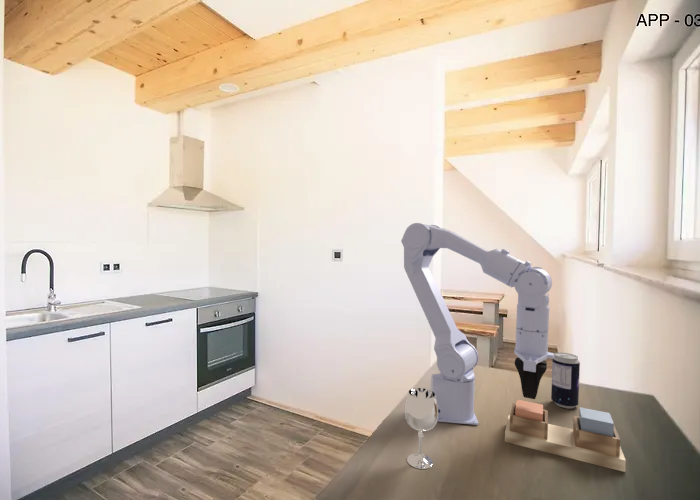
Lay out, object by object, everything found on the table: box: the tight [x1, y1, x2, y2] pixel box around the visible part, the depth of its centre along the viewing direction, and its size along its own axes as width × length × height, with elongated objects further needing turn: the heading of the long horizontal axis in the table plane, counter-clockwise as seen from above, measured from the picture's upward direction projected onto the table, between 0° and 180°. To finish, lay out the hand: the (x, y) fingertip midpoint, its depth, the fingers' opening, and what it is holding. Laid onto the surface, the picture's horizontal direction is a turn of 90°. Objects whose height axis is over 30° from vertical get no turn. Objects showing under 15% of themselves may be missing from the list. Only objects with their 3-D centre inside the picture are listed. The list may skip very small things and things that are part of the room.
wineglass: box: [404, 387, 438, 470], centre depth 64 cm, size 6×6×12 cm
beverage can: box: [550, 352, 581, 410], centre depth 89 cm, size 6×6×12 cm
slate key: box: [578, 406, 615, 437], centre depth 68 cm, size 5×5×3 cm
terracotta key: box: [515, 399, 544, 422], centre depth 73 cm, size 5×5×3 cm
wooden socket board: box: [504, 402, 627, 473], centre depth 71 cm, size 19×8×5 cm, turn 62°
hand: (529, 397), depth 73 cm, fingers closed
